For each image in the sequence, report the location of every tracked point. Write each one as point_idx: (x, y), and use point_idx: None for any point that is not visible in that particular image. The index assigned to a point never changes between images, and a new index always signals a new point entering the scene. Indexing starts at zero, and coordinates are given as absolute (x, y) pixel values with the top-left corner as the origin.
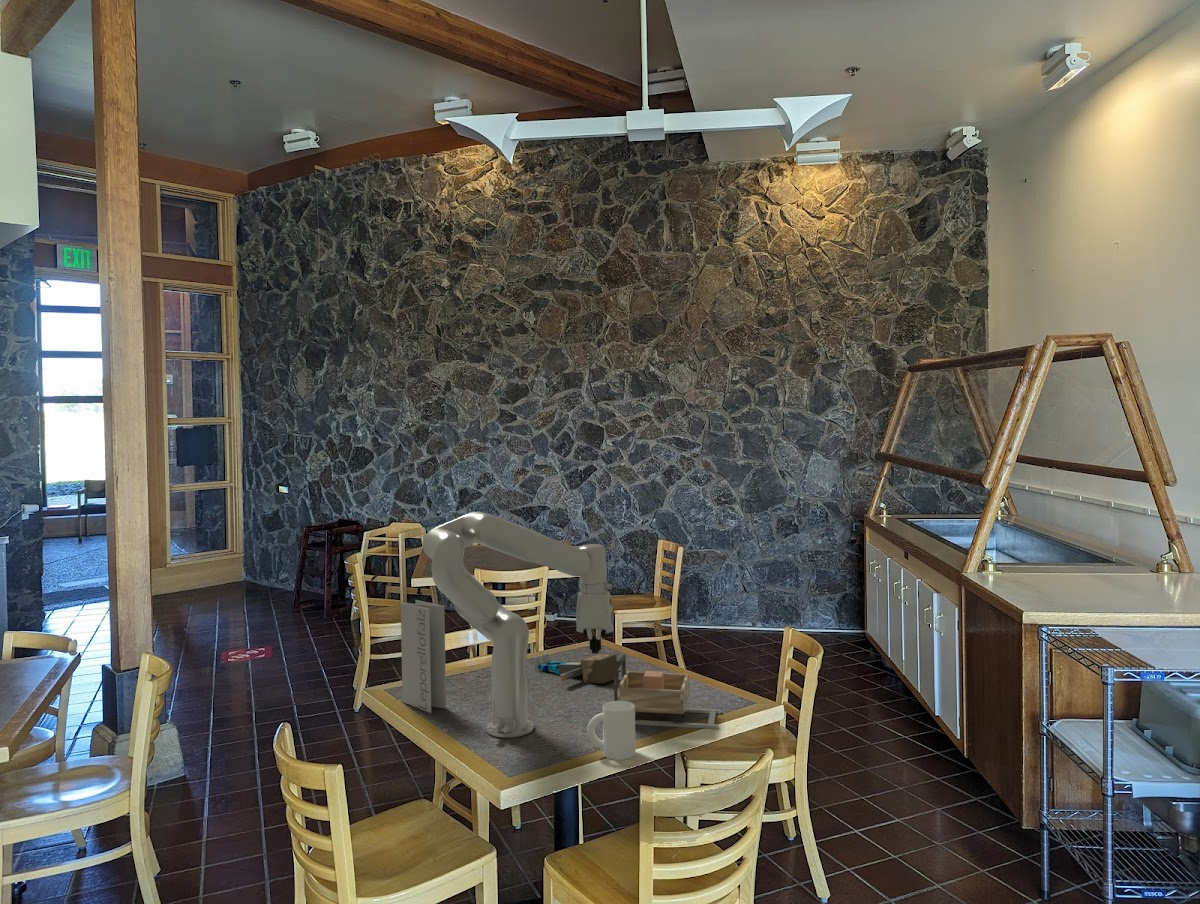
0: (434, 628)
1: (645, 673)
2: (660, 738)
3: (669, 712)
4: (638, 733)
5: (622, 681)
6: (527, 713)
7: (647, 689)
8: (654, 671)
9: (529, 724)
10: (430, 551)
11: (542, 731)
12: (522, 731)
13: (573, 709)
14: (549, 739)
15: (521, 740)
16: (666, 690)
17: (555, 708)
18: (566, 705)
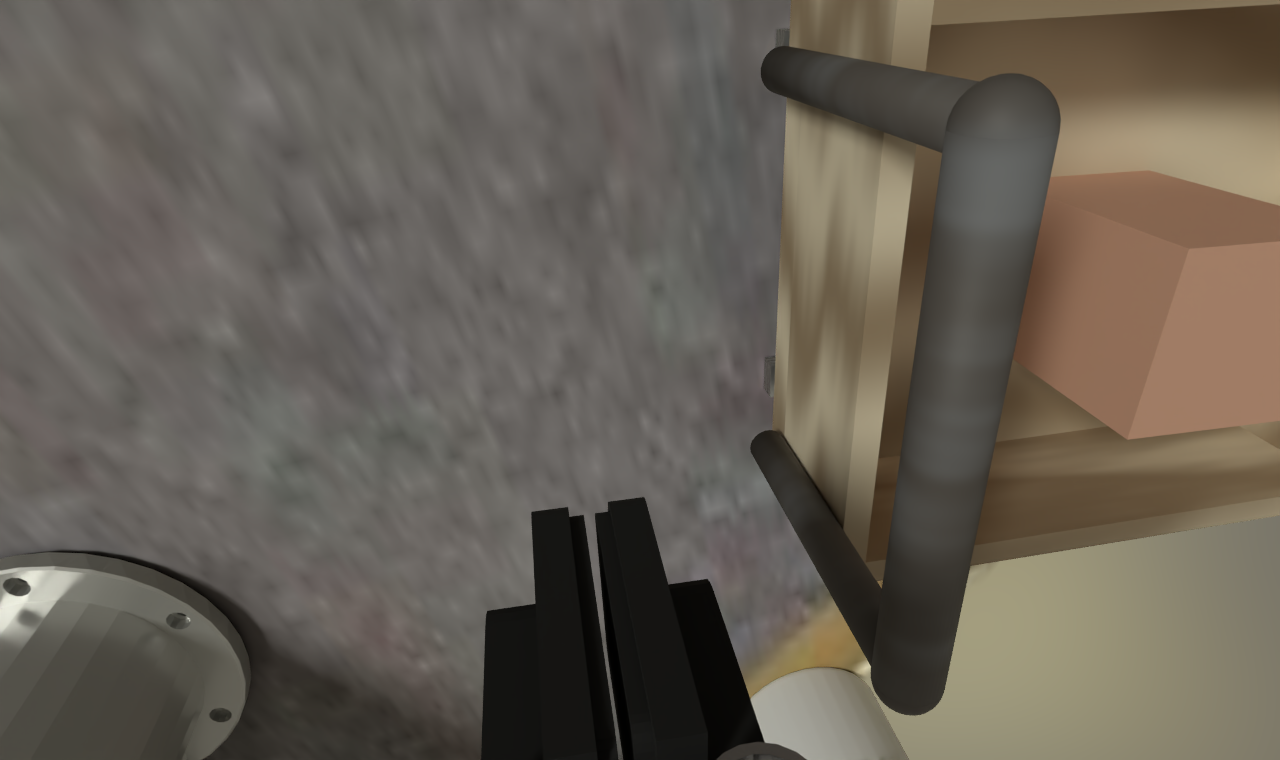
0: None
1: (1162, 351)
2: None
3: None
4: None
5: (871, 409)
6: (159, 721)
7: (1090, 545)
8: (1277, 250)
9: (193, 642)
10: None
11: (309, 625)
12: (223, 731)
13: (302, 188)
14: (411, 696)
15: (265, 749)
16: (1234, 520)
17: (124, 202)
18: (177, 93)
